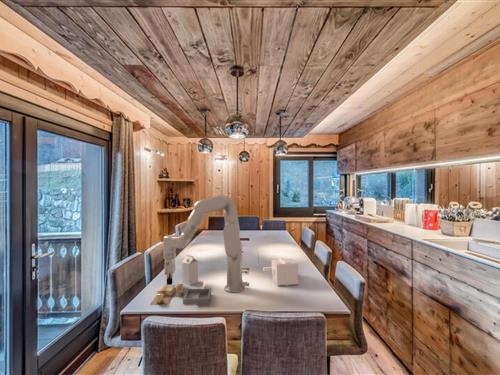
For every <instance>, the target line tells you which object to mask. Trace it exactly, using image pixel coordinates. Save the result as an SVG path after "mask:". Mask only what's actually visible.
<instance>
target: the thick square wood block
mask: <svg viewBox="0 0 500 375" xmlns="http://www.w3.org/2000/svg"><path fill="white" fill-rule="evenodd" d="M175 288H176V285H173V284H172V285H167V284H166V285H160V286H159V288H158V289H157V292H156V294H157V293H164V296H172V294H173V292H174V290H175Z"/></svg>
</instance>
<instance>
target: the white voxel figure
mask: <svg viewBox="0 0 500 375" xmlns="http://www.w3.org/2000/svg"><path fill="white" fill-rule="evenodd" d="M262 271H263V272H271V280H272V281H273V282H274V283H275V285H276V286H286V287H288V286H291V285H299V263H298V262H297V261H295V260H294V259H292V258H284V257H282V258H281V257H280V258H278V259H271V266H263V270H262Z"/></svg>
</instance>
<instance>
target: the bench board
mask: <svg viewBox="0 0 500 375" xmlns="http://www.w3.org/2000/svg"><path fill="white" fill-rule="evenodd" d="M174 295H176V287H175V290H174V292H173V294H172V296H164V303H163V304H160V305H158V304H157V294H156V295H155V296H154V297H153V300H152V301H151V303H150V304H149V305H150V306H163V305H164V306H165V305H170V304H171V301H172V299H173V297H174Z"/></svg>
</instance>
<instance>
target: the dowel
mask: <svg viewBox="0 0 500 375" xmlns="http://www.w3.org/2000/svg"><path fill="white" fill-rule="evenodd" d="M175 288H176V292H175V296H176V297H182V296H183V297H184V283H178V284H176V285H175Z"/></svg>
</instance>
